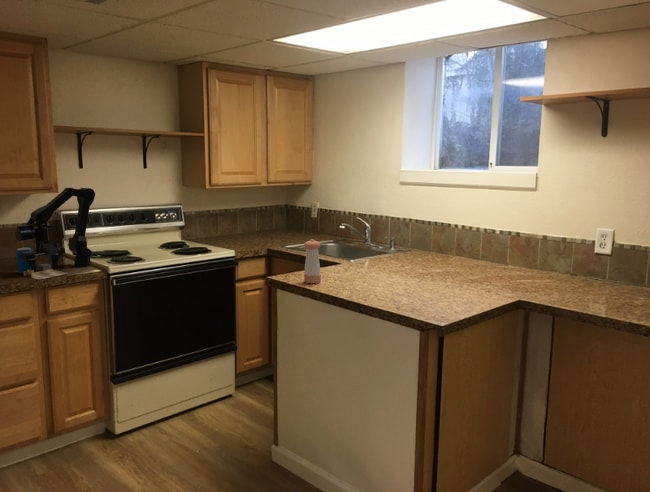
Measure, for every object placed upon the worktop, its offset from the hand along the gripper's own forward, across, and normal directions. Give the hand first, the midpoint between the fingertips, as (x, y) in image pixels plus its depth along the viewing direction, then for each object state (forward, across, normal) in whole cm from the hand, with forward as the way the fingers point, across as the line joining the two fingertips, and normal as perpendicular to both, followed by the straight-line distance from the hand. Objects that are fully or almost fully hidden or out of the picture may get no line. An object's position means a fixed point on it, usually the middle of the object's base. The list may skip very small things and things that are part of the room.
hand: (44, 271), depth 257 cm
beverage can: (+2, -3, +11) cm, 11 cm away
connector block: (+1, 0, 0) cm, 1 cm away
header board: (+2, -1, -2) cm, 3 cm away
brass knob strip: (+1, -7, 0) cm, 7 cm away
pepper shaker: (+2, +56, -112) cm, 125 cm away
